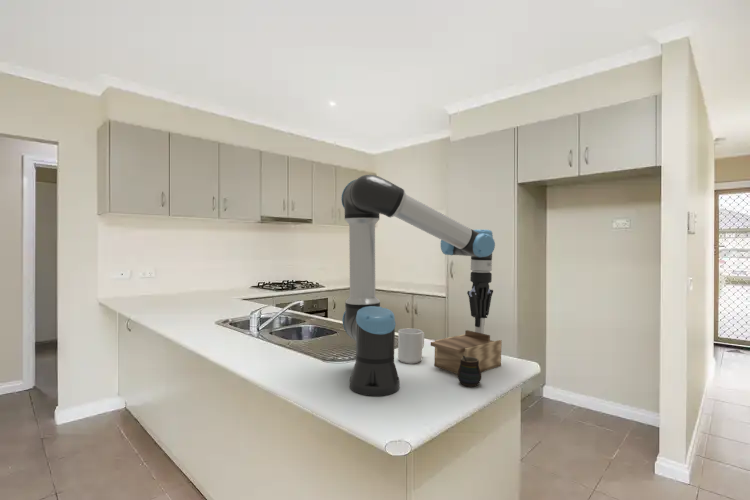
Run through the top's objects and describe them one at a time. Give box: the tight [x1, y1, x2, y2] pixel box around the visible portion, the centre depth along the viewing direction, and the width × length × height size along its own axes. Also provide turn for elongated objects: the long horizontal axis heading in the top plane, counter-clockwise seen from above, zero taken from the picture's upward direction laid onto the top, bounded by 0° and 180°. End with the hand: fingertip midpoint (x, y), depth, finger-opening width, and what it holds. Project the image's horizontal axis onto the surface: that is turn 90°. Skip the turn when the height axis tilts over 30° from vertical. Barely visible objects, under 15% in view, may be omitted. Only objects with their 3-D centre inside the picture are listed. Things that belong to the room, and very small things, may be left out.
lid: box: [430, 329, 495, 353], centre depth 140 cm, size 20×12×3 cm, turn 129°
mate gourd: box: [457, 355, 482, 388], centre depth 123 cm, size 7×8×10 cm
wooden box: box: [433, 333, 503, 375], centre depth 142 cm, size 20×14×9 cm
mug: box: [397, 327, 426, 365], centre depth 148 cm, size 12×9×11 cm
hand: (479, 335), depth 146 cm, fingers closed
